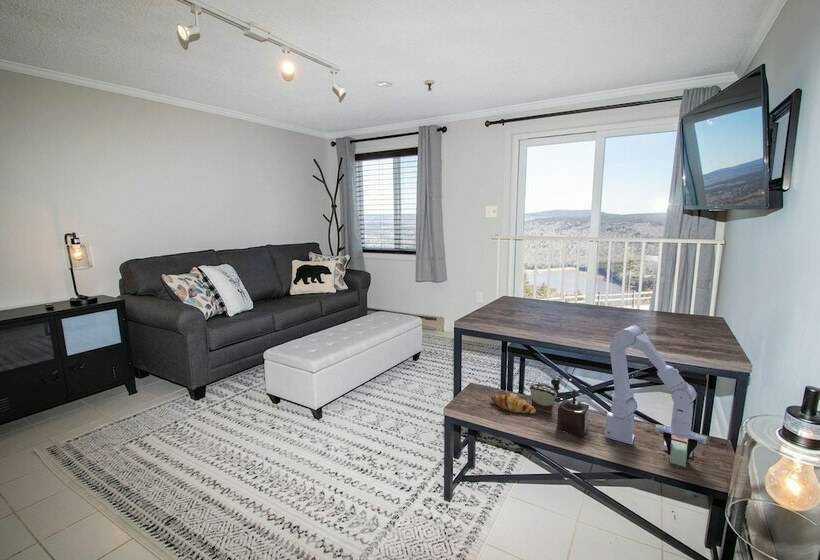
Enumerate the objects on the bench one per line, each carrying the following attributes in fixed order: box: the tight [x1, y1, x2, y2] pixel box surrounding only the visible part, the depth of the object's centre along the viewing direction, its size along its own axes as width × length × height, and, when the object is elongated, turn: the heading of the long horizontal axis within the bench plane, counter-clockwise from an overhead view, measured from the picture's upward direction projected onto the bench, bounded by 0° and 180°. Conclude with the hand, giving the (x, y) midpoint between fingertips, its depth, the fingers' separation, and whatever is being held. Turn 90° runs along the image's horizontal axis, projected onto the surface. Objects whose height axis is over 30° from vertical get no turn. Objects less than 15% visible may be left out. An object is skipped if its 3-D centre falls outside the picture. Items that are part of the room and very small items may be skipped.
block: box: [669, 439, 687, 468], centre depth 136 cm, size 4×7×5 cm, turn 146°
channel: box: [663, 435, 693, 458], centre depth 146 cm, size 8×14×2 cm, turn 146°
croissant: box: [490, 392, 537, 415], centre depth 175 cm, size 21×10×8 cm, turn 55°
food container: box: [528, 383, 558, 414], centre depth 175 cm, size 12×6×10 cm, turn 48°
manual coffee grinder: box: [550, 378, 590, 438], centre depth 158 cm, size 16×11×18 cm
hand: (677, 455), depth 136 cm, fingers closed on block, 4 cm apart
